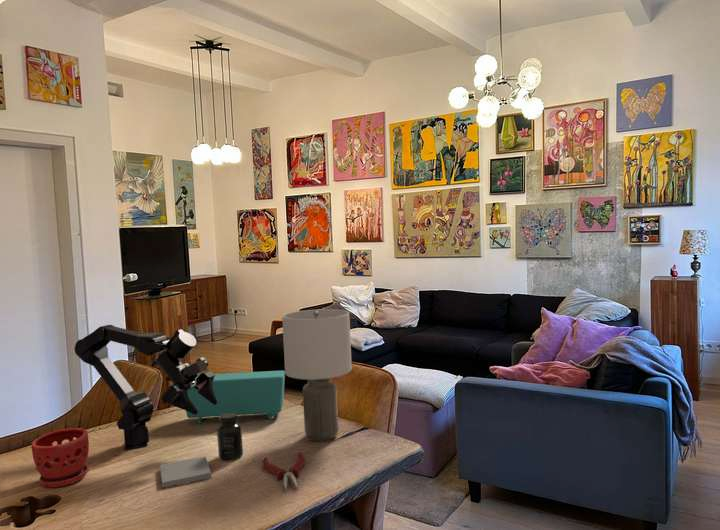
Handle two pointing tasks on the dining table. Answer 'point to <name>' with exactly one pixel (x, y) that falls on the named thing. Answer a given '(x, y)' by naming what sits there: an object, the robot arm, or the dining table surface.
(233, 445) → the supplement bottle
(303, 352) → the lamp
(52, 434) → the plant pot
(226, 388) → the teal foam block
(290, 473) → the pliers
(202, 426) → the dining table surface
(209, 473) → the grey flat square slab
